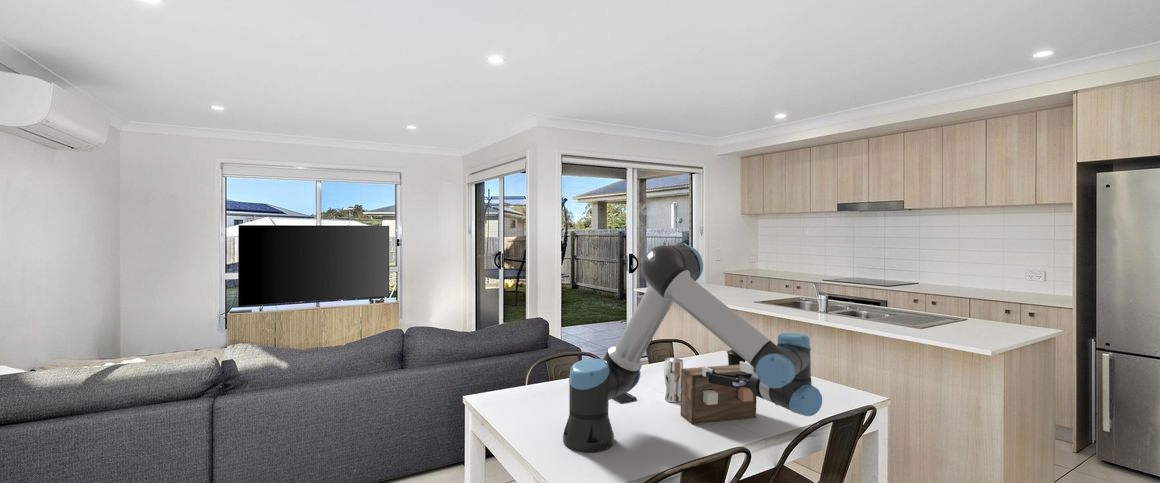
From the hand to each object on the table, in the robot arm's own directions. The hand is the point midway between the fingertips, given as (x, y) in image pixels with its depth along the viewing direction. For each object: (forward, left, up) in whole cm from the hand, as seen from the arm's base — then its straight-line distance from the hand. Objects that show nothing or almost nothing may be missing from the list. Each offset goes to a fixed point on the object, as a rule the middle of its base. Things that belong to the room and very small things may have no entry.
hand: (722, 368), depth 158 cm
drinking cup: (+50, +11, -21) cm, 55 cm away
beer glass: (+20, +25, -21) cm, 38 cm away
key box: (+14, +6, -21) cm, 25 cm away
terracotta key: (+16, -2, -13) cm, 21 cm away
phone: (+12, +44, -21) cm, 50 cm away
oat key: (+6, +6, -13) cm, 16 cm away
